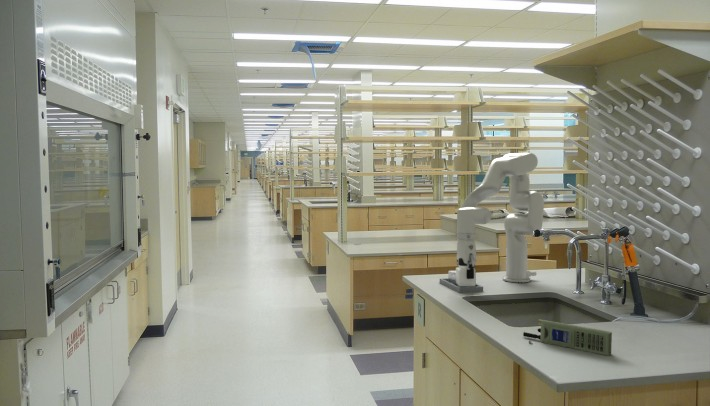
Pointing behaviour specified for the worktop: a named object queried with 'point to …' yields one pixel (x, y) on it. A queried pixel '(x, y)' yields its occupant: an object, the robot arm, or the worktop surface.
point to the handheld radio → (574, 337)
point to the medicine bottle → (464, 275)
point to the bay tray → (461, 289)
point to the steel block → (452, 276)
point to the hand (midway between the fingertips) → (465, 276)
